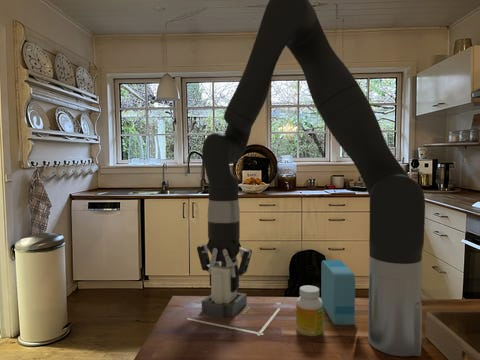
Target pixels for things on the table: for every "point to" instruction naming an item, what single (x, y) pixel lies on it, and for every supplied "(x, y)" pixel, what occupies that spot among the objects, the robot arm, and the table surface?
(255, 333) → the header board
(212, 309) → the frame
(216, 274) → the plug
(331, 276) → the data package
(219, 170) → the robot arm
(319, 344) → the table surface
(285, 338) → the table surface
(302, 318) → the supplement bottle
